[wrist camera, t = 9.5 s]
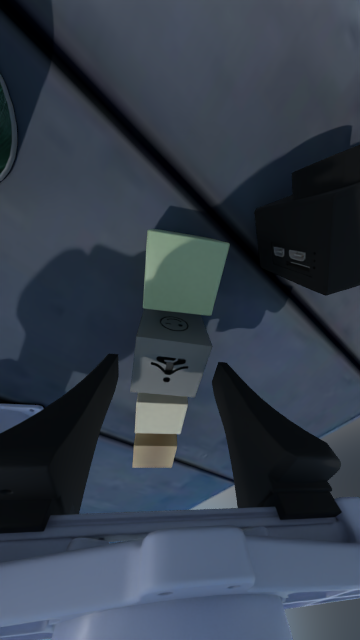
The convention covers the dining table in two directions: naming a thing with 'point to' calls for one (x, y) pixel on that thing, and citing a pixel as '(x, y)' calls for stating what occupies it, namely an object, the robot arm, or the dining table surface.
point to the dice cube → (170, 353)
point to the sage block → (182, 272)
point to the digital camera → (316, 226)
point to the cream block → (160, 413)
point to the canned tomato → (6, 131)
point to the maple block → (154, 450)
